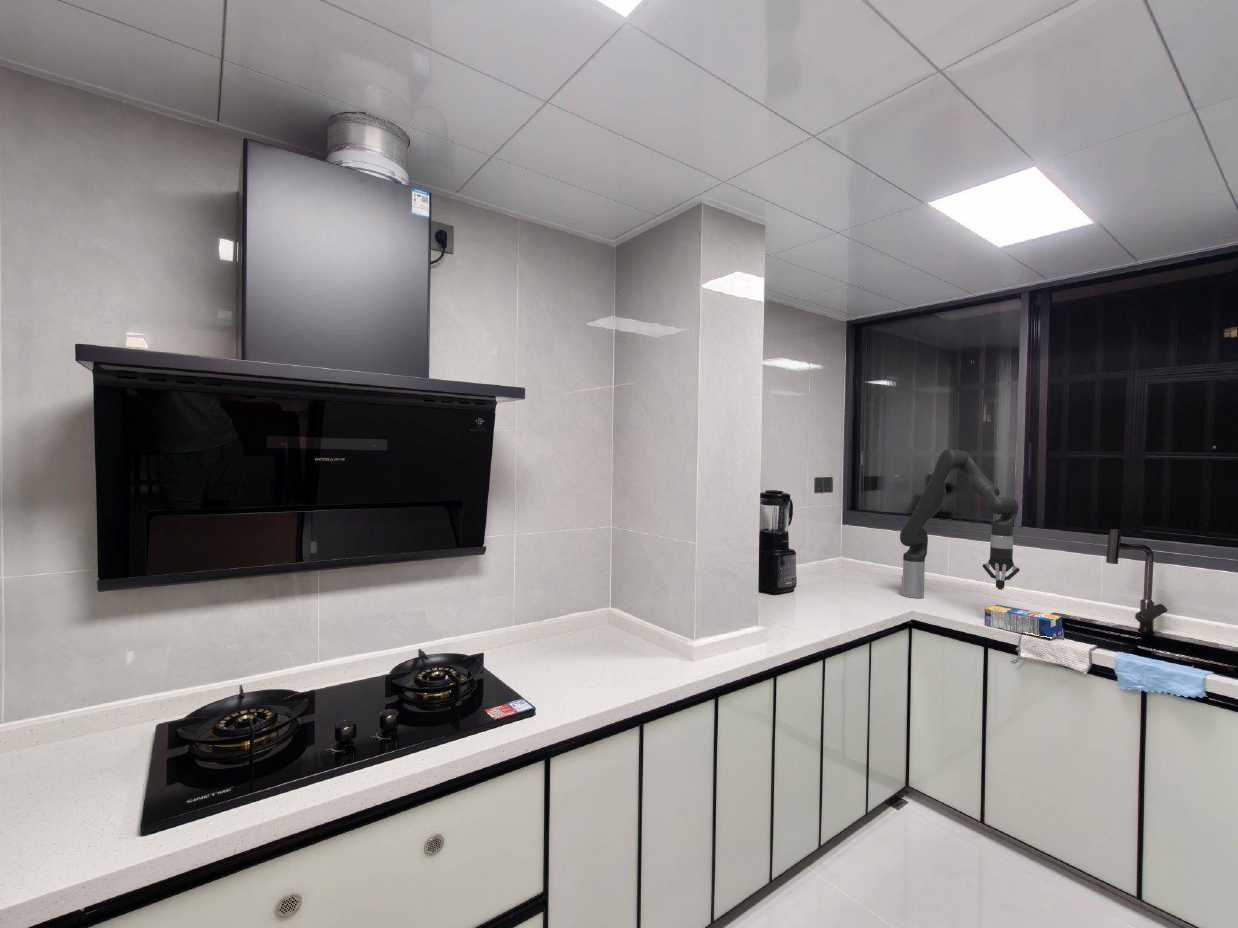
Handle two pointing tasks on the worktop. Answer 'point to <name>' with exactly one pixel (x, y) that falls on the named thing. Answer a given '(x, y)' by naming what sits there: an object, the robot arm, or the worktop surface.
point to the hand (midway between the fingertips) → (1000, 589)
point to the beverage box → (1023, 621)
